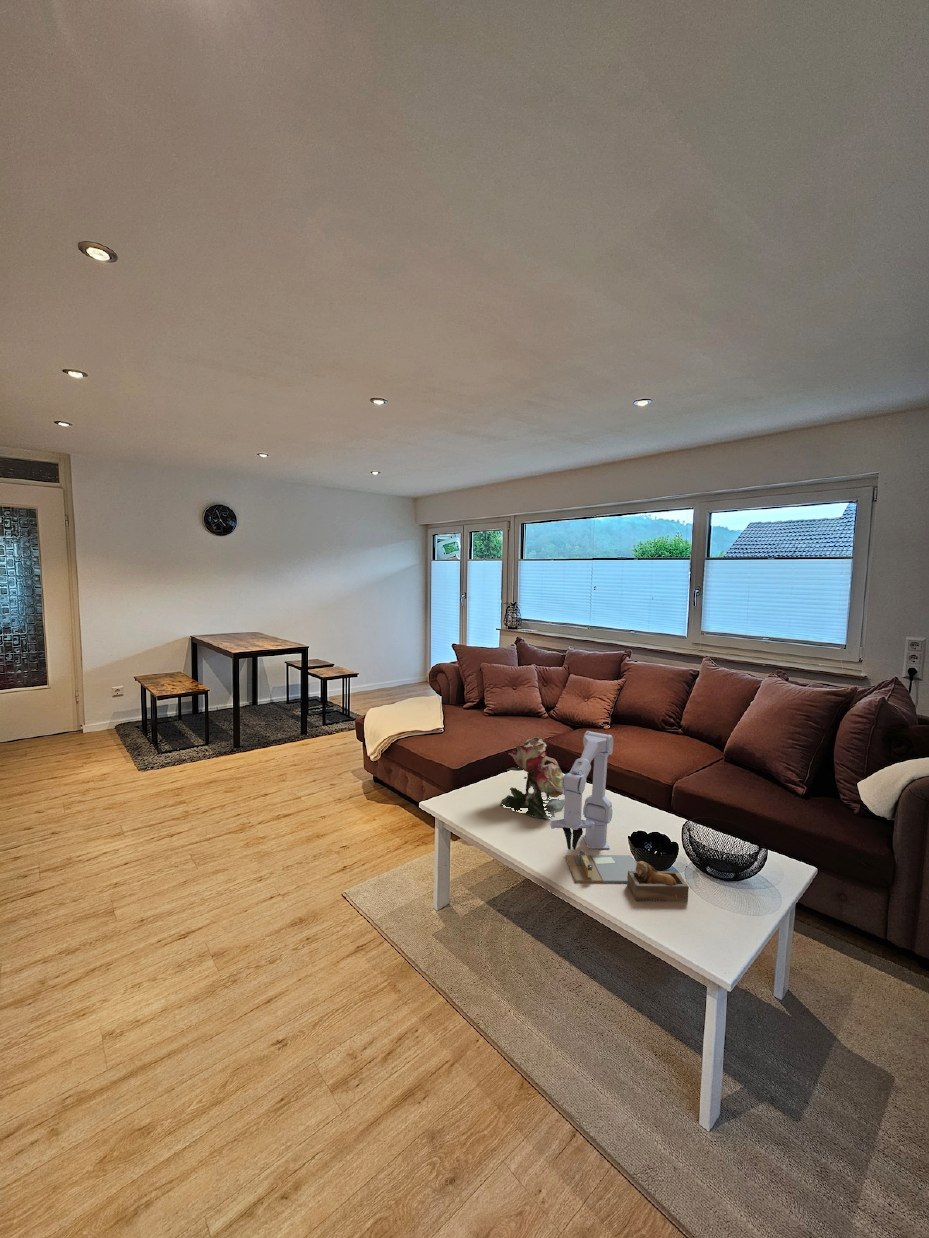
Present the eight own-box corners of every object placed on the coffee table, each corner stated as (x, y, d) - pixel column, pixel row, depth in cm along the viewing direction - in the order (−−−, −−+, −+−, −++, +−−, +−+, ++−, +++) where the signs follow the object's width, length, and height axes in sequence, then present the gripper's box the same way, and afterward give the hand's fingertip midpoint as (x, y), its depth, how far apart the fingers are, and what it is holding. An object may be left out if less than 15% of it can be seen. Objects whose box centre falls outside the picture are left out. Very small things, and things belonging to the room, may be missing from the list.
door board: (565, 856, 186) (565, 844, 186) (630, 857, 187) (631, 845, 186) (575, 882, 170) (576, 869, 170) (647, 883, 171) (647, 870, 170)
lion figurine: (633, 890, 166) (635, 864, 165) (635, 882, 171) (636, 856, 170) (683, 903, 160) (684, 875, 159) (683, 894, 165) (684, 867, 164)
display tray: (627, 885, 169) (627, 870, 169) (676, 885, 169) (677, 871, 169) (636, 901, 161) (636, 885, 160) (687, 901, 161) (688, 886, 161)
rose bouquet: (559, 824, 211) (561, 753, 209) (495, 807, 226) (497, 741, 223) (578, 801, 233) (580, 737, 231) (519, 787, 248) (520, 727, 246)
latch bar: (580, 861, 180) (581, 852, 180) (585, 861, 180) (586, 852, 180) (587, 877, 170) (588, 867, 170) (593, 877, 171) (593, 867, 170)
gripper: (553, 814, 168) (552, 854, 169) (597, 815, 168) (596, 854, 169) (549, 805, 175) (548, 843, 176) (591, 805, 175) (590, 843, 176)
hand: (571, 848), depth 173 cm, fingers closed
